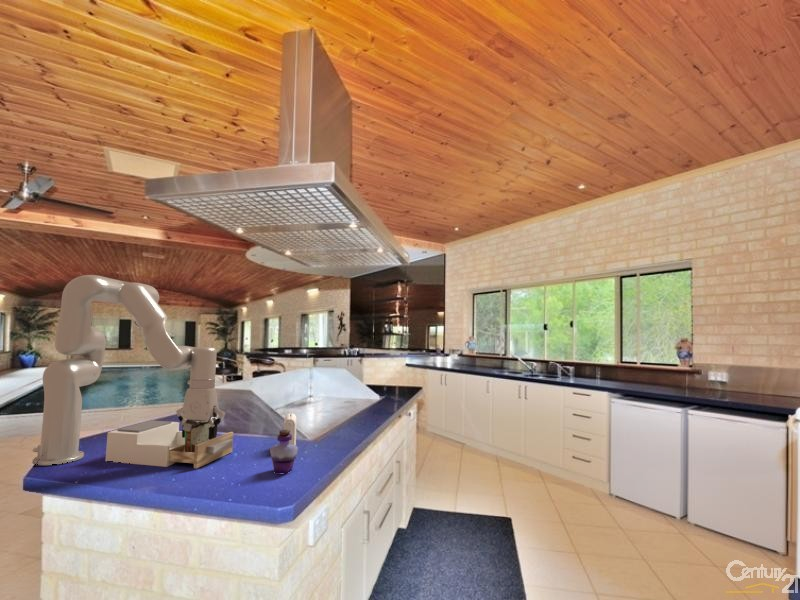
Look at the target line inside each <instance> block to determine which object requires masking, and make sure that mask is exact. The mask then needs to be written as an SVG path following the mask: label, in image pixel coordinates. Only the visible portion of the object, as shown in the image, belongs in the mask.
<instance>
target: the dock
mask: <svg viewBox="0 0 800 600" xmlns="http://www.w3.org/2000/svg"><path fill="white" fill-rule="evenodd" d="M184 444H185V437H184V438H183V437H182V430H180V421H179V422H177V421H166V420H147V421H143V422H141V423H140V422H139V423H137V424H131V425H128V426H125V427H120V428H117V429H116V430H111V431H108V432H107V437H106V449H105V462H107V461H113V462H112V463H118V462H121V464H129V463H130V465H131V464H132V465H142V466H144V465H145V466H153V467H154V466H155V467H165V468H166V467H169V466H172V465H174V464H176V463H178V462H172V461H169V450H170V449H173V448H176V447H178V446H181V445H184Z"/></svg>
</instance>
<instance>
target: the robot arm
mask: <svg viewBox="0 0 800 600" xmlns="http://www.w3.org/2000/svg"><path fill="white" fill-rule="evenodd" d="M159 301H160V295H159V291H158V290H157V289H156V288H155V287H154V286H151V285H150V284H145V283H141V282H130V281H123V280H121V279H120V280H119V279H115V278H111V277H106V276H104V275H103V276H102V275H98V274H97V275H96V274H84V275H79V276H76V277H75V278H73V279H72V280H70V281H69V282H68V283H66V285H65V286H64V288H63V291H62V294H61V301H60V302H61V304H60V313H59V317H58V322H57V327H56V333H55V339H54V347H55V350H56V351H57V353H60V354H62V355H64V356H66V355H67V356H73V358H67V359H66V358H64V359H59V360H56V361H53V362H51V363H49V365H47V366H46V367H45V369H44V371H43V374H42V385H43V392H44V394H43V395H44V396H43V397H44V400H43V412H42V413H43V414H42V424H41V425H42V426H41V436H40V444H38V446H36V447H34V448H32V452H33V453H37V456H36V457H33V458H32V462H31V463H32V465H35V464H36V463H37V461H38V460H39V459H40V460H39V461H38V463H37V464H38V465H37V464H36V465H35V466H53V465H52V464H57V465H61V464H62V463H63V464H68V463H73V462H75V461H78V460H81V459H82V458H84V457H85V452H84V451H82V450H79V448H80V447H79V445H80V435H81V424H82V423H81V422H82V412H83V409H82V408H83V397H82V392H81V390H80V388H81V387H84V386H89V385H92V384H93V383H95V382H96V381H97V380H98V379H99V378H100V377H101V372H102V369H103V363H104V357H105V351H106V345H107V340H106V336H105V334H104V332H103V331H102V330H101V329H100V328H98V327H95V326H92V321H93V318H94V311H93V307H92V302H93V303H94V302H99V303H104V304H105V303H106V304H113V305H119V306H123V307H124V308H125V309H126V311H127V312H128V313H129V315H130V316H131V317H132V318H133V320H134V321H135V323H136V324H137V326H138V327H139V328H140V330H141V332H142V338H143V342H144V345H145V347H146V348H147V351H148V352H149V354H150V355H151V356H152V357H153V359H154V360H155V361H156V363H157V364H158V365H159V366H160V367H162V368H163V369H164V370H167V371H175V370H182V369H189V368H190V375H189V376H190V377H189V378H190V379H189V380H187V385H189V388H186V391H185V395H184V399H183V405H182V407H181V408H179V409H177V410H176V411H175V412H176V415H177V420H179V423H180V425H181V426H182V427H181V431H182V437H183V438H184V437H185V430H183V426H184V423H185V421H187V420H193V421H208V422H209V424H210V425H211V427H209V437H208V439H209V440H211V439H213V438H216V437H217V435H218V426H219V425H220V424H221V423H222V422H223V420H224V417H226V412H225V411H224V410H222V409H221V408H219V407H218V403H219V402H218V393H217V388H216V387H215V385H216V369H217V352H218V351H217V349H216V348H215V347H212V346H211V347H210V346H197V347H195V346H189V345H176V344H175V342H174V341H173V340H172V339H171V336H169V334H168V331H167V329H166V324H167V322H168V319H169V318H168V315H167V314H166V312H165V311H164V310H163V308H162V307H161V306H160V304H159ZM42 455H43V456H42ZM41 456H42V457H41ZM72 461H73V462H72ZM67 462H68V463H67Z"/></svg>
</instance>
